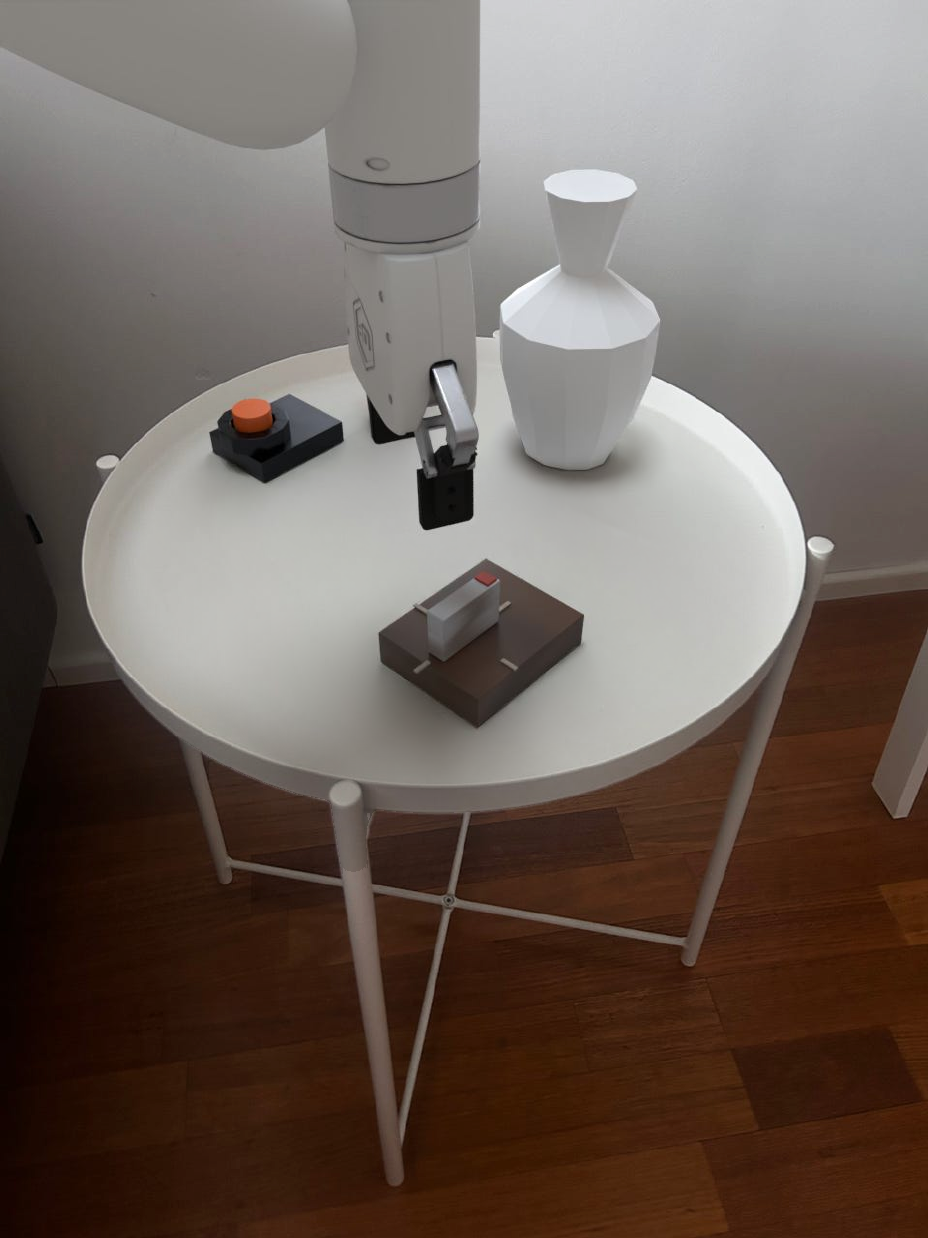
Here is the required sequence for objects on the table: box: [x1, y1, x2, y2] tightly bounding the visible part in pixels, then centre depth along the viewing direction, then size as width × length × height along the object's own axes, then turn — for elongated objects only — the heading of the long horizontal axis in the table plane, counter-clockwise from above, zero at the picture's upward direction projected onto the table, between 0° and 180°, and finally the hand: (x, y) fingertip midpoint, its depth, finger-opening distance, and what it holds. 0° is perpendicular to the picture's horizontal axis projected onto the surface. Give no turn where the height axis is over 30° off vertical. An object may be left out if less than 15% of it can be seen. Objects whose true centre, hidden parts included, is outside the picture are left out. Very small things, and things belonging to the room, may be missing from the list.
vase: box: [498, 168, 661, 471], centre depth 90 cm, size 14×14×25 cm
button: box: [231, 398, 273, 433], centre depth 95 cm, size 4×4×2 cm
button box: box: [208, 393, 345, 484], centre depth 97 cm, size 11×8×4 cm
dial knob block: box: [377, 558, 585, 728], centre depth 76 cm, size 13×10×3 cm
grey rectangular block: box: [427, 571, 500, 662], centre depth 73 cm, size 6×2×4 cm, turn 137°
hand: (420, 478), depth 62 cm, fingers open, 9 cm apart
